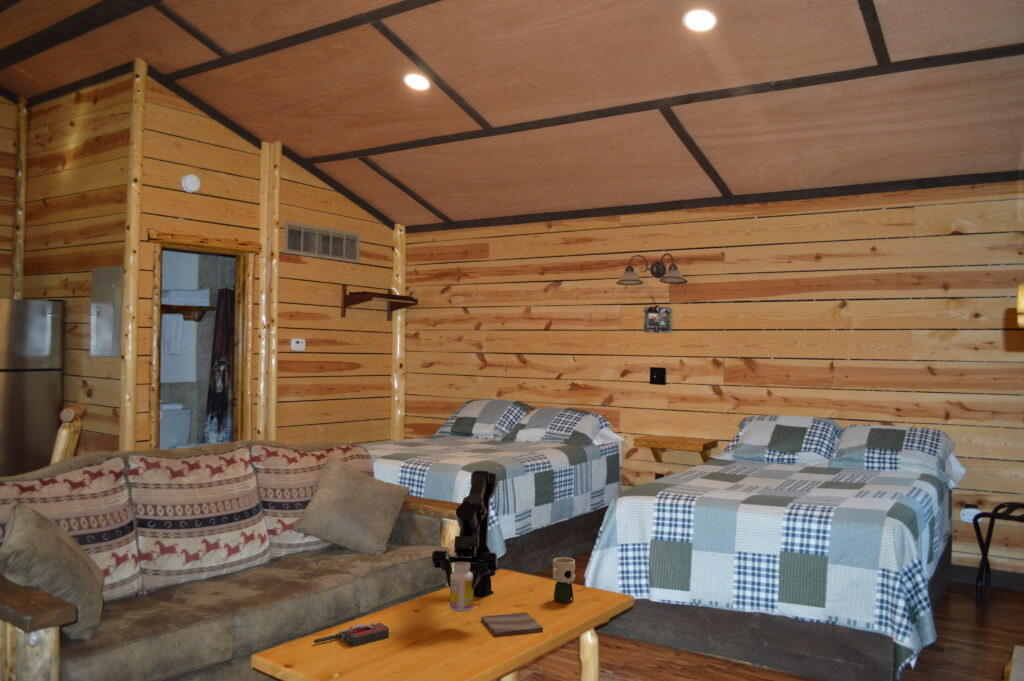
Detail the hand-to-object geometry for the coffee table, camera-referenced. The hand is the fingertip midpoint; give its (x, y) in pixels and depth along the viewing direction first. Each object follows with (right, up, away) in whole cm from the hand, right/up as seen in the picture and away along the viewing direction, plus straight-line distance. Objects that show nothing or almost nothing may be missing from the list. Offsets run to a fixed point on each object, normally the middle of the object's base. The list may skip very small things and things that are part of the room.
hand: (461, 587), depth 226 cm
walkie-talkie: (-29, -12, -9) cm, 32 cm away
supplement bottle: (0, -7, +1) cm, 7 cm away
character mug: (+31, -13, +28) cm, 44 cm away
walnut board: (+14, -12, +4) cm, 19 cm away
